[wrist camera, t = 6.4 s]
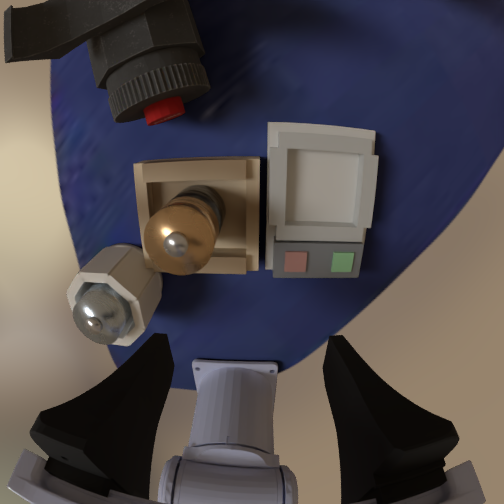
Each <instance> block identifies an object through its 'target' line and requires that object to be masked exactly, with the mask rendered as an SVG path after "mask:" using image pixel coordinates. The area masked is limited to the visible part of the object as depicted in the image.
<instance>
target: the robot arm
mask: <svg viewBox="0 0 504 504" xmlns="http://www.w3.org/2000/svg"><path fill="white" fill-rule="evenodd" d="M192 367H193V372H194V377H195V382H196V387H197V392H198V398H197V403H196V408H195V413H194V418H193V424H192V429H191V434H190V440H189V445H188V447H186V446H185V447H184V450H183V456H173V457H172V458H171V459H170V460H168V461H167V462H166V463H165V466H164V468H163V471H162V474H161V478H160V483H159V490H158V502H156V501H152V500H149V484H150V472H151V462H152V454H153V448H154V442H155V436H156V430H157V427H158V423H159V420H160V416H161V413H162V410H163V407H164V404H165V401H166V398H167V395H168V392H169V389H170V386H171V382H172V376H173V371H174V362H173V358H172V354H171V350H170V345H169V341H168V337H167V334H160V333H154V334H153V335H152V336H151V337H150V338H149V339H148V340H147V341H146V342H145V343H144V344H143V345H142V346H141V347H140V348H139V349H138V350H137V351H136V352H135V353H134V354H133V355H132V356H131V357H130V358H129V359H128V360H127V361H126V362H125V363H124V364H123V365H121V366H120V367H119V368H118V369H117V370H116V371H115V372H114V373H112V374H111V375H110V376H109V377H107V378H106V379H105V380H103V381H102V382H101V383H99V384H98V385H97V386H95V387H93V388H91V389H90V390H88V391H86V392H85V393H83V394H81V395H80V396H78V397H76V398H74V399H72V400H70V401H68V402H66V403H63V404H61V405H58V406H56V407H53V408H50V409H47V410H44V411H41V412H40V414H39V415H38V417H37V419H36V421H35V423H34V425H33V426H32V428H31V430H30V436H31V438H32V439H33V440H34V442H35V443H36V444H37V445H38V446H39V447H40V448H41V449H42V450H43V451H44V452H45V453H46V454H47V455H48V456H49V458H48V460H47V461H46V460H45V459H43V458H42V457H40V456H38V455H36V454H34V453H32V452H30V451H29V450H27V449H24V450H23V452H22V454H21V456H20V458H19V460H18V462H17V464H16V466H15V469H14V471H13V473H12V475H11V478H10V480H9V482H8V485H7V487H8V488H9V489H10V490H11V491H13V492H14V493H16V494H18V495H19V496H20V497H22V498H23V499H25V500H26V501H28V502H29V503H31V504H298V487H297V481H296V477H295V475H294V473H293V472H292V471H291V470H290V469H289V468H288V467H287V466H285V465H279V455H274V440H273V411H274V402H275V392H276V383H277V373H278V364H277V363H276V362H242V361H216V360H199V359H195V360H193V362H192ZM197 367H199V368H197ZM323 374H324V381H325V388H326V392H327V396H328V399H329V403H330V407H331V411H332V415H333V419H334V422H335V427H336V432H337V439H338V447H339V458H340V468H341V469H340V471H341V504H483V503H485V501H486V500H485V497H484V494H483V491H482V488H481V486H480V483H479V480H478V478H477V475H476V473H475V470H474V467H473V465H472V463H471V461H470V460H469V461H466V462H464V463H462V464H460V465H458V466H455V467H453V468H451V469H449V470H448V471H446V472H444V470H443V467H444V466H445V464H446V463H445V461H444V458H445V457H446V456H447V455H448V454H449V453H450V451H452V450H453V448H454V447H455V446H456V445H457V443H458V441H459V437H458V434H457V431H456V429H455V427H454V425H453V423H452V422H451V421H449V420H446V419H444V418H442V417H439V416H437V415H434V414H432V413H431V412H428V411H427V410H425V409H423V408H421V407H419V406H418V405H416V404H414V403H413V402H411V401H410V400H408V399H407V398H405V397H404V396H402V395H401V394H399V393H398V392H397V391H396V390H394V389H393V388H392V387H391V386H389V385H388V384H387V383H386V382H385V381H383V379H381V378H380V377H379V376H378V375H377V374H376V373H375V372H374V371H373V370H372V369H371V368H370V366H368V364H367V363H366V362H365V361H364V360H363V359H362V358H361V357H360V355H359V354H358V353H357V352H356V351H355V350H354V348H353V347H352V346H351V345H350V343H349V342H348V341H347V340H346V339H345V337H344V336H343V335H336V336H329V340H328V345H327V350H326V355H325V360H324V364H323Z"/></svg>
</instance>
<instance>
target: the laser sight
mask: <svg viewBox="0 0 504 504" xmlns="http://www.w3.org/2000/svg"><path fill="white" fill-rule="evenodd" d="M85 41H86V42H87V47H88V51H89V56H90V61H91V65H92V70H93V74H94V78H95V82H96V86H97V88H101V89H106V90H108V94H109V98H108V99H109V100H108V101H109V105H110V108H111V112H112V115H113V119H114V122H116V123H117V122H118V123H124V122H130V121H134V120H138V119H141V118H146V121H147V124H148V126H151V125H156V124H159V123H162V122H166V121H168V120H171V119H174V118H176V117H178V116H181V115H182V114H184V113H185V110H184V106H183V104H185V103H187V102H189V101H192V100H194V99H196V98H198V97H200V96H202V95H203V94H205V93H206V92H208V91H209V89H210V84H209V81H208V78H207V74H206V71H205V68H204V66H202V65H201V62H200V59H199V58H200V57H202V56H203V55H205V51H204V48H203V45H202V42H201V39H200V35H199V32H198V29H197V26H196V23H195V20H194V17H193V14H192V11H191V8H190V5H189V2H188V0H48V1H46V2H44V3H40V4H36V5H32V6H28V7H22V8H13V6H12V5H11V6H10V7H9V8H8V9H7V10H6V11H5V12H4V52H5V63H10V62H18V61H29V60H43V59H60V58H61V57H63V56H64V55H66V54H67V53H69V52H70V51H72V50H73V49H74V48H76V47H77V46H79V45H81V44H82V43H84V42H85Z"/></svg>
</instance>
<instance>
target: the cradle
mask: <svg viewBox="0 0 504 504" xmlns="http://www.w3.org/2000/svg"><path fill="white" fill-rule="evenodd" d="M374 149H375V131H372V130H365V129H357V128H349V127H340V126H330V125H318V124H304V123H285V122H268V141H267V202H266V246H265V269H272V270H273V278H358V276H359V271H360V265H361V260H362V254H363V248H364V241H365V234H366V228H371V223H372V216H373V208H374V200H375V191H376V181H377V170H378V157H379V156H377V155H374Z"/></svg>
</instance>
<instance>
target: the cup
mask: <svg viewBox="0 0 504 504" xmlns="http://www.w3.org/2000/svg"><path fill="white" fill-rule="evenodd" d="M94 283H107V284H108V285H110V286H111V287H112V288H113V289H114V290H115V291H116V292H118V293H119V294H120V295H121V296H122V297H123V298H125V299H126V300H127V301H128V302H129V303H130V307H131V311H132V315H131V316H130V318H129V320H128V321H127V323H126V325H125V327H124V328H123V330H122V332H121V334H120V335H119V337H118V339H117V340H116V341H115V342H114V343H112V344H115V345H122V346H128V345H129V346H130V345H131V344H132V343H133V342H134V341H135V340H136V339H137V338H138V337H139V336H140V335H141V334H142V333H143V332H144V331H145V329H146V327H147V325H148V323H149V321H150V319H151V317H152V315H153V313H154V311H155V309H156V307H157V305H158V303H159V301H160V299H161V297H162V294H161V292H162V288H163V278H162V273H161V272H154V269H153V268H146V266H145V260H144V253H143V249H141V248H140V247H138V246H135V245H132V244H128V243H118V244H114V245H111V246H110V247H106V248H104V249H103V250H102V251H100V252H99V253H98V254H97V255H96V256H95V257H94V258H93V259H92V260H91V261H90V262H89V263H87V264H86V265H85V266H84V267H83V268H82V269H81V270H80V271H79V272H78V273H77V275H76V276H75V278H74V280H73V282H72V283H71V285H70V287H69V289H68V290H67V294H66V295H67V298H68V301H69V304H70V307H71V309H72V312H73V308H74V306H75V304H76V303H77V302H78V301H79V300H80V299H81V297H82V296H83V295H84V294H85V293H86V292H87V291H88V289H89V288H90V287H91V286H92V285H93V284H94Z"/></svg>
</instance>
